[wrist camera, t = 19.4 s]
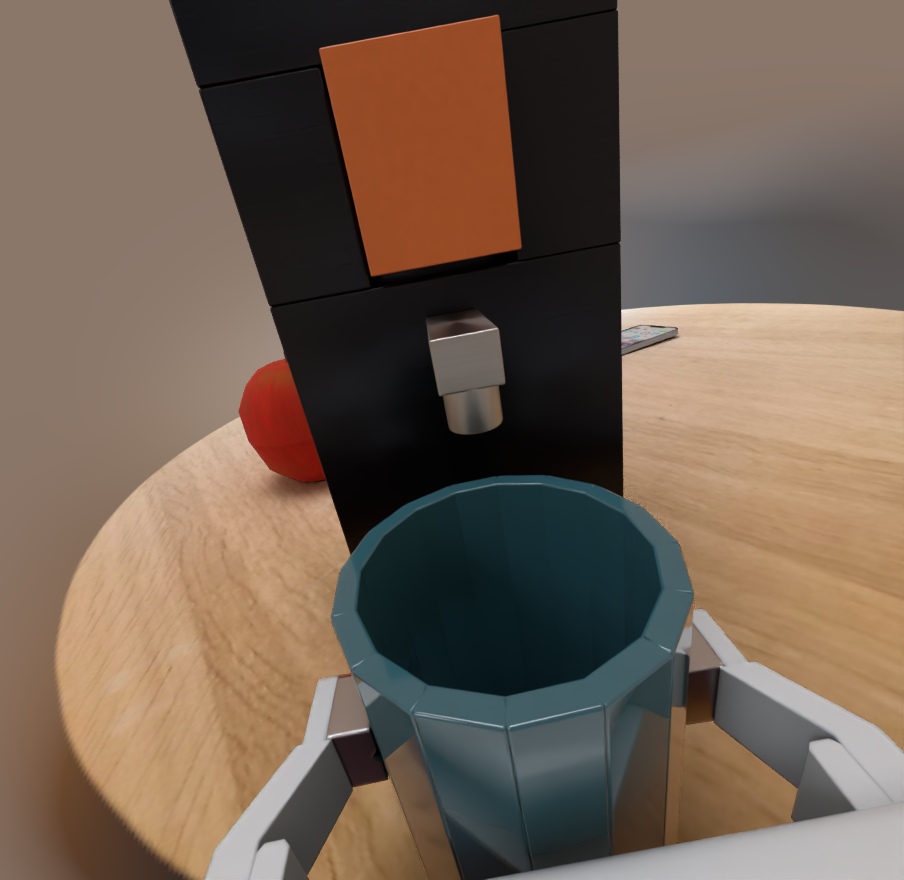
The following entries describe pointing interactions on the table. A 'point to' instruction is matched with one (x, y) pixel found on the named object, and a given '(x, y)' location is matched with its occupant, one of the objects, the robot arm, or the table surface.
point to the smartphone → (644, 336)
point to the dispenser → (438, 286)
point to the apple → (279, 424)
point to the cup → (522, 672)
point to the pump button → (427, 143)
